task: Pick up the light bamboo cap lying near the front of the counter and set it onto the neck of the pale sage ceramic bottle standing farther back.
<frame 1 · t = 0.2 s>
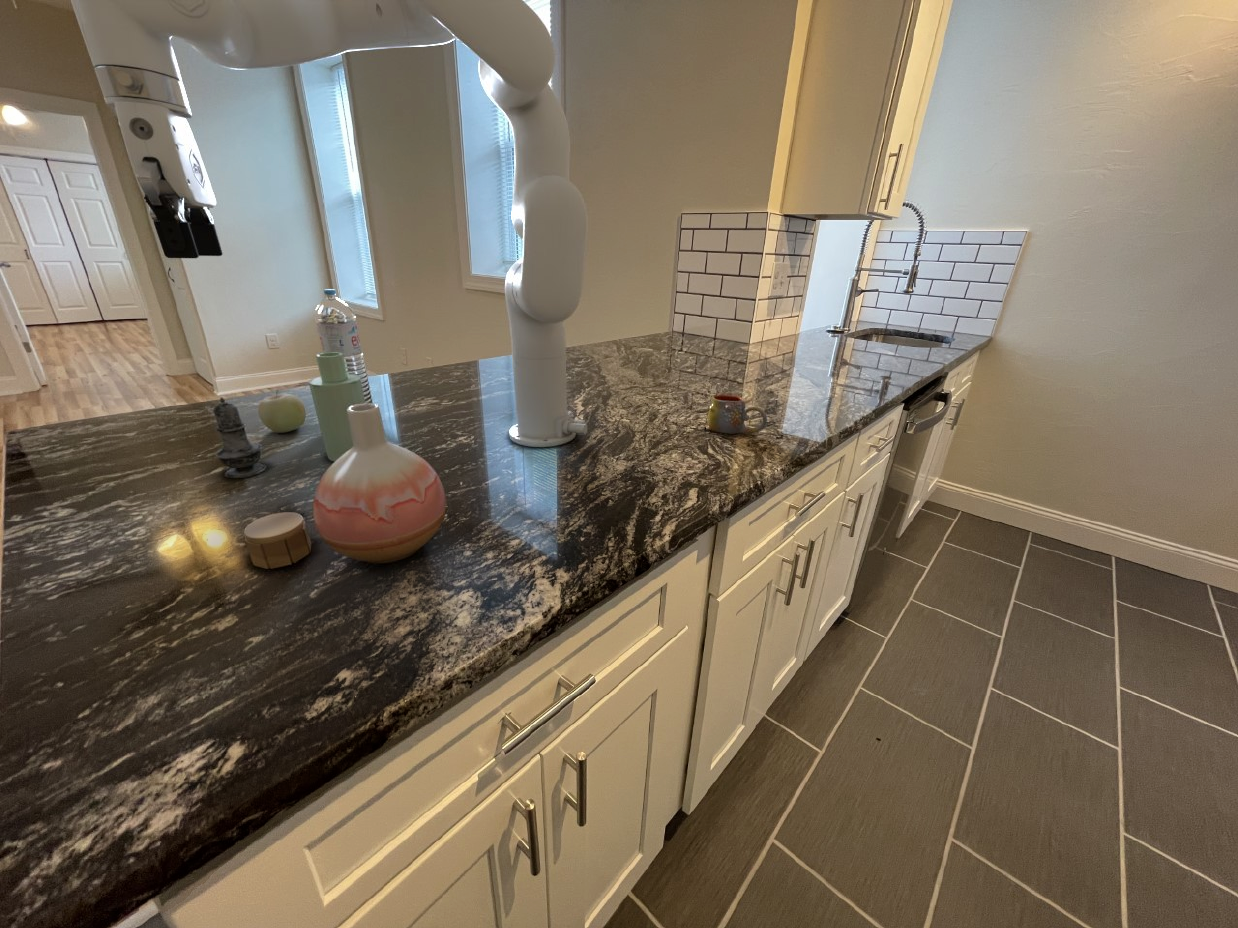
hand: (196, 256, 63), 31 cm above the counter, tool pointing down, fingers open, 9 cm apart
ceramic bottle: (351, 453, 83), on the counter
cap: (283, 553, 56), on the counter
water bottle: (357, 419, 99), on the counter
vase: (392, 549, 58), on the counter
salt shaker: (246, 472, 76), on the counter
fruit: (287, 430, 92), on the counter
mug: (734, 432, 97), on the counter
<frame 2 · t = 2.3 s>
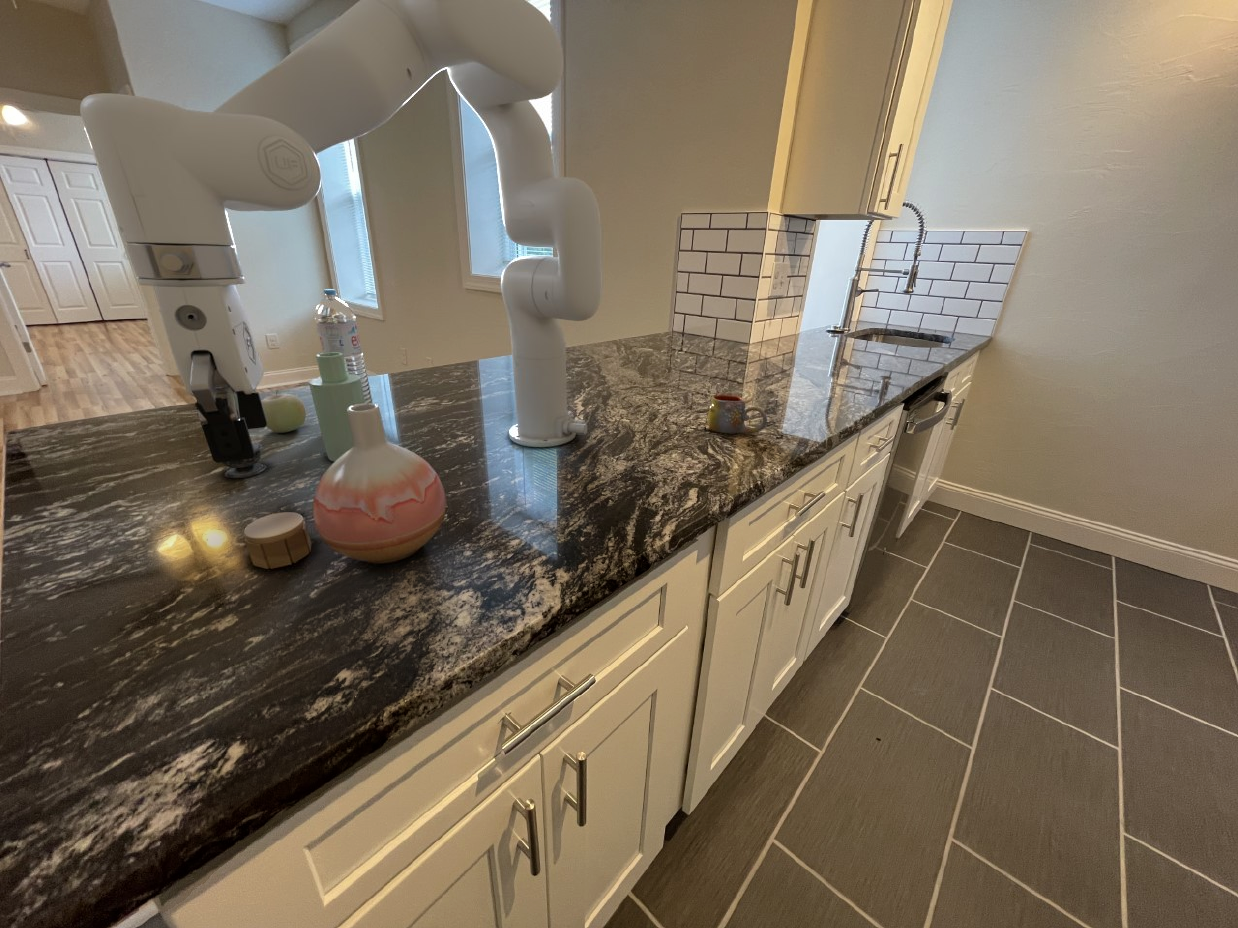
hand: (243, 442, 51), 14 cm above the counter, tool pointing down, fingers open, 9 cm apart
nothing on the counter moved.
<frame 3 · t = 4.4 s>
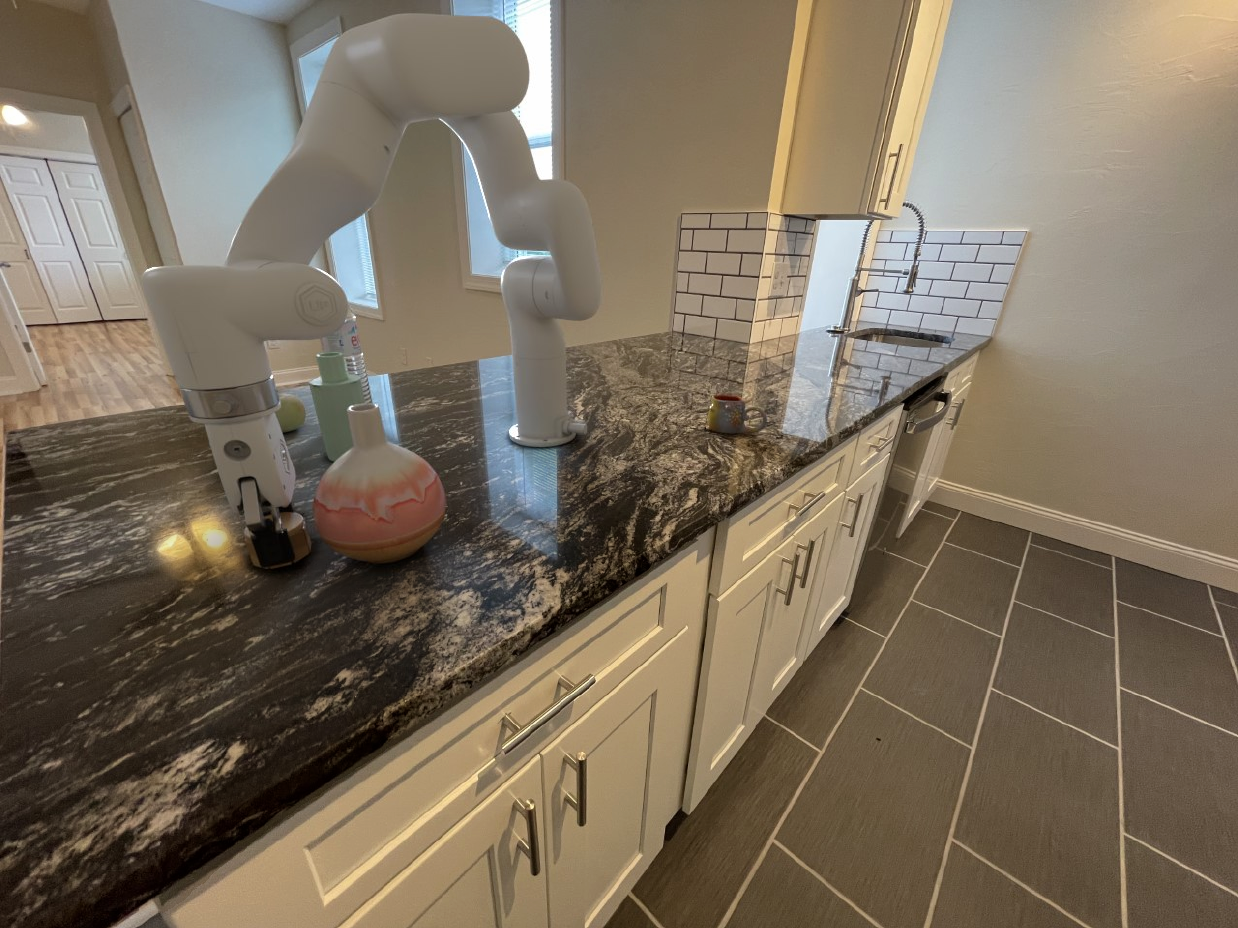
hand: (281, 547, 56), 1 cm above the counter, tool pointing down, fingers closed on cap, 5 cm apart
cap: (283, 553, 56), on the counter, touching gripper
everything else where it was.
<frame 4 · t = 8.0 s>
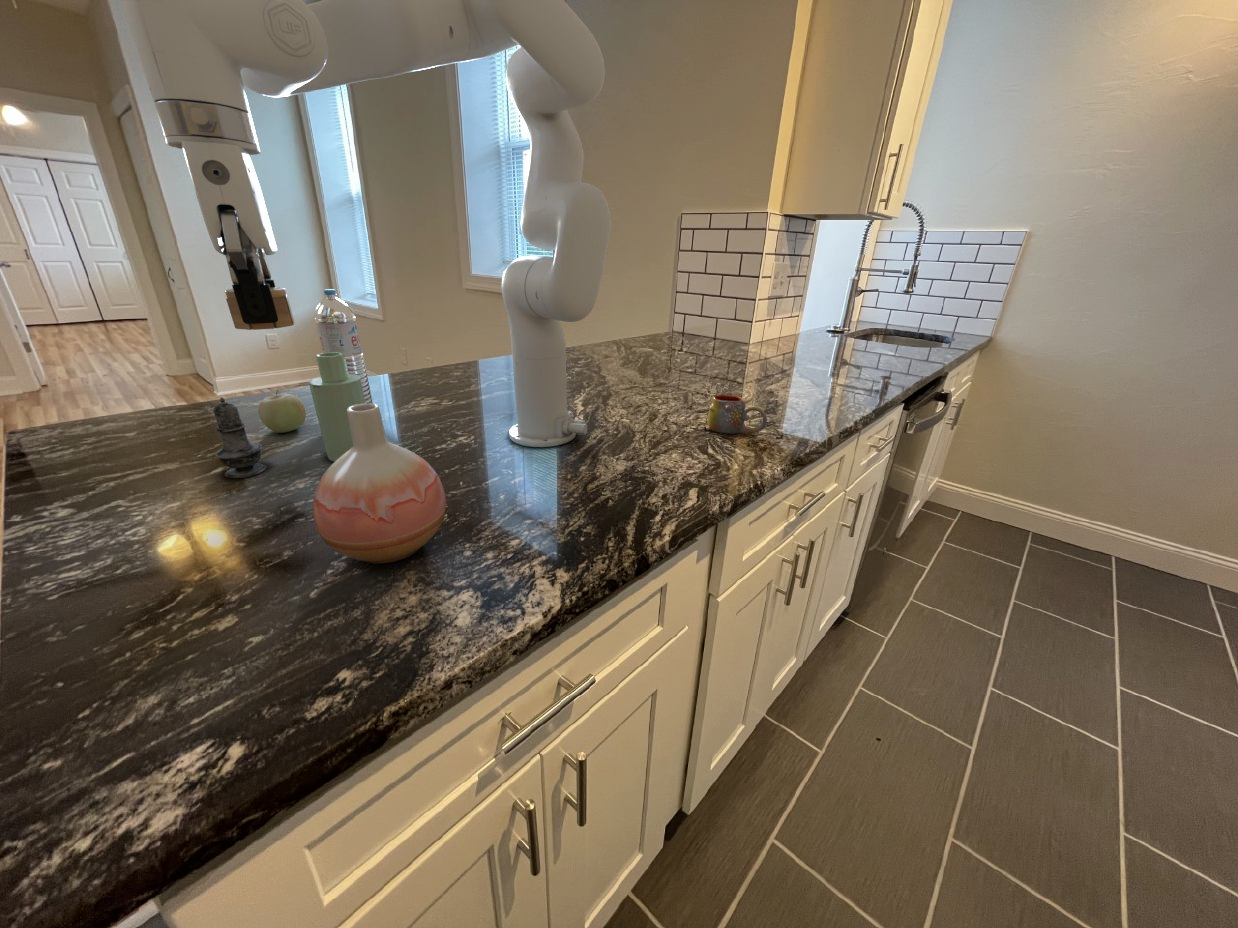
hand: (264, 317, 56), 25 cm above the counter, tool pointing down, fingers closed on cap, 5 cm apart
cap: (266, 325, 56), point 24 cm above the counter, touching gripper
everything else where it was.
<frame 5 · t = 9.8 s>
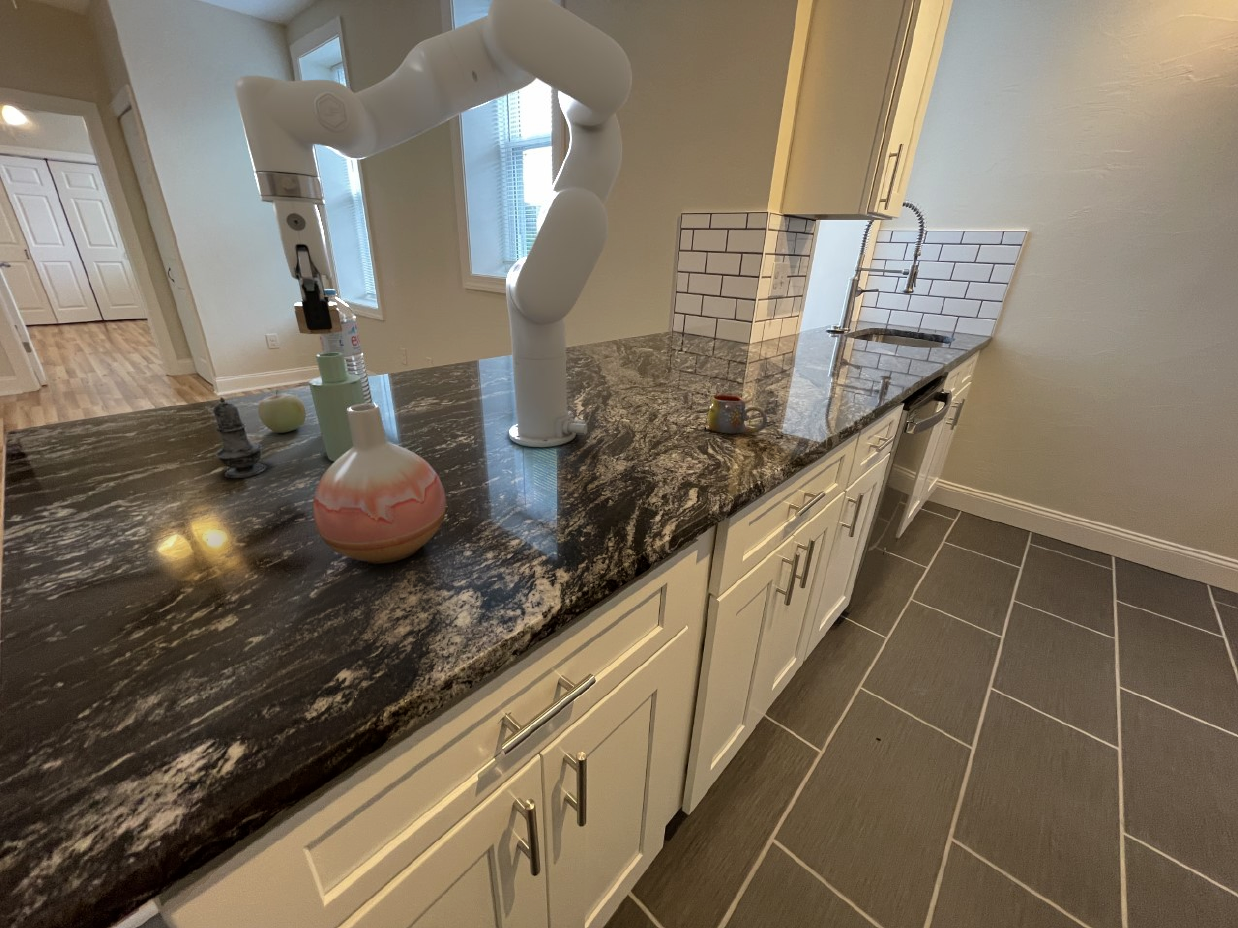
hand: (320, 325, 74), 22 cm above the counter, tool pointing down, fingers closed on cap, 5 cm apart
cap: (321, 331, 74), point 21 cm above the counter, touching gripper
everything else where it was.
when the fingers open (15 cm above the counter, at t = 11.7 s): cap stays where it is, resting on ceramic bottle.
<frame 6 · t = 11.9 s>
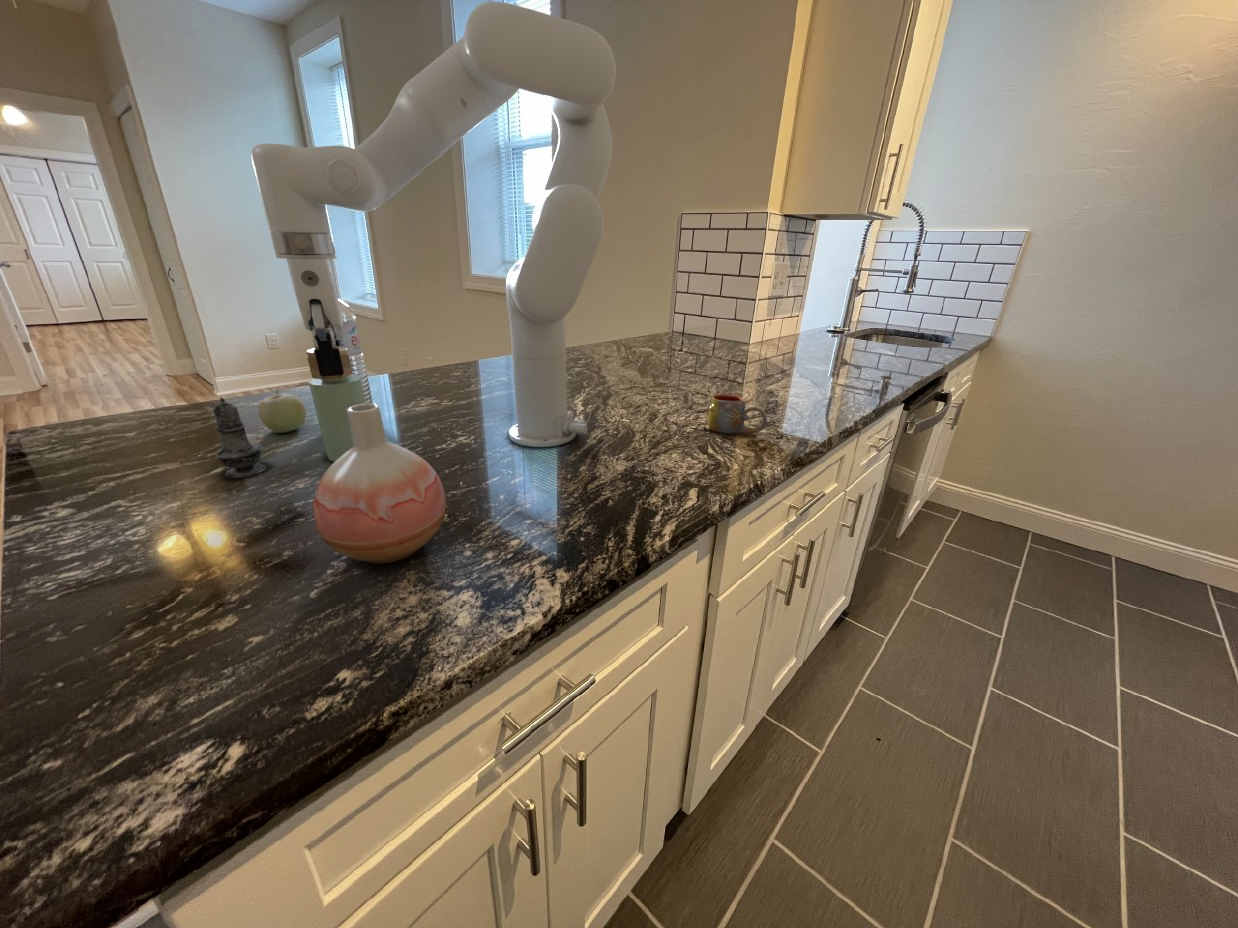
hand: (332, 369, 77), 15 cm above the counter, tool pointing down, fingers open, 6 cm apart
ceramic bottle: (351, 453, 83), on the counter, touching cap
cap: (332, 374, 77), point 14 cm above the counter, touching ceramic bottle
everything else where it was.
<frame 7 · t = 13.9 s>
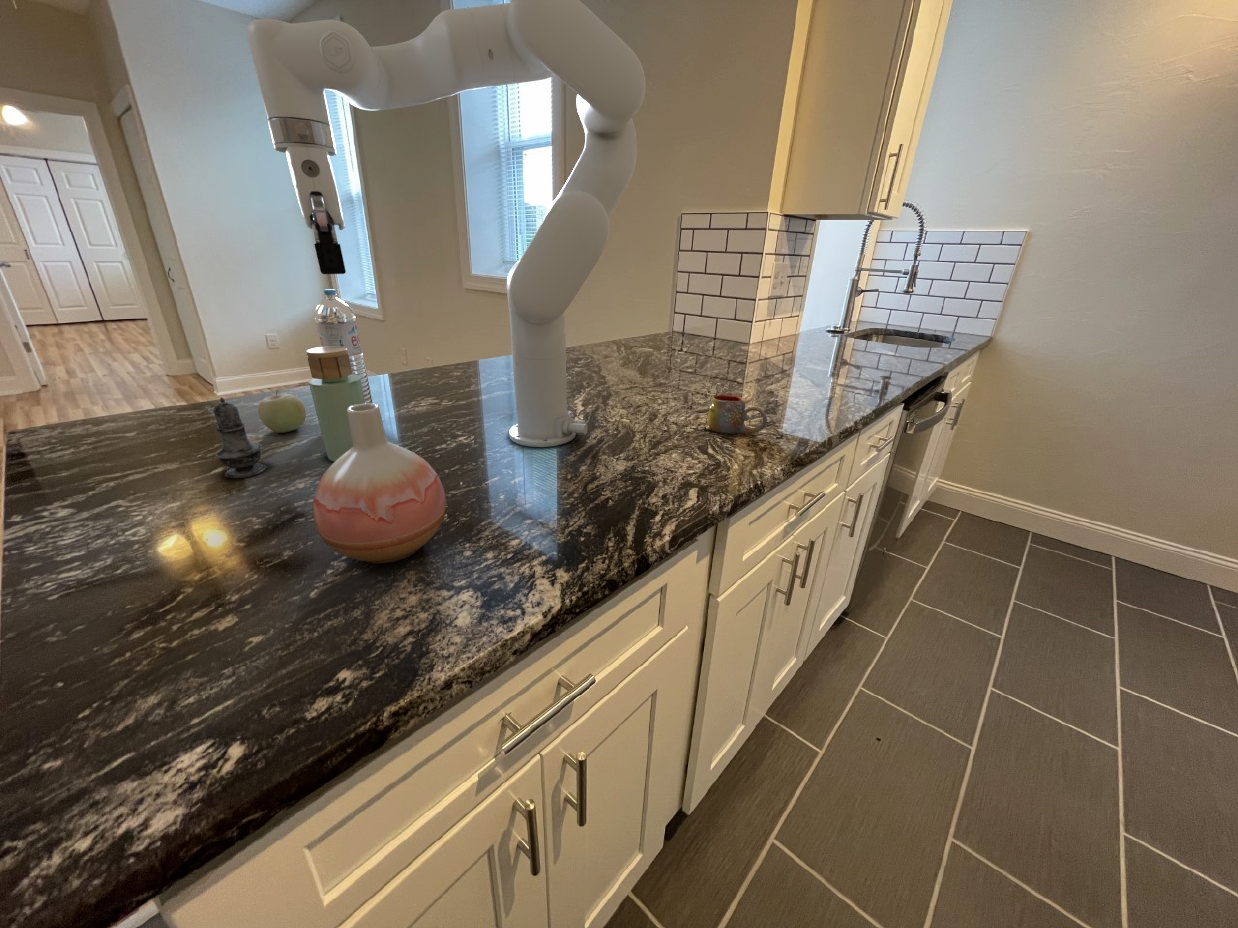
hand: (333, 272, 74), 29 cm above the counter, tool pointing down, fingers open, 9 cm apart
nothing on the counter moved.
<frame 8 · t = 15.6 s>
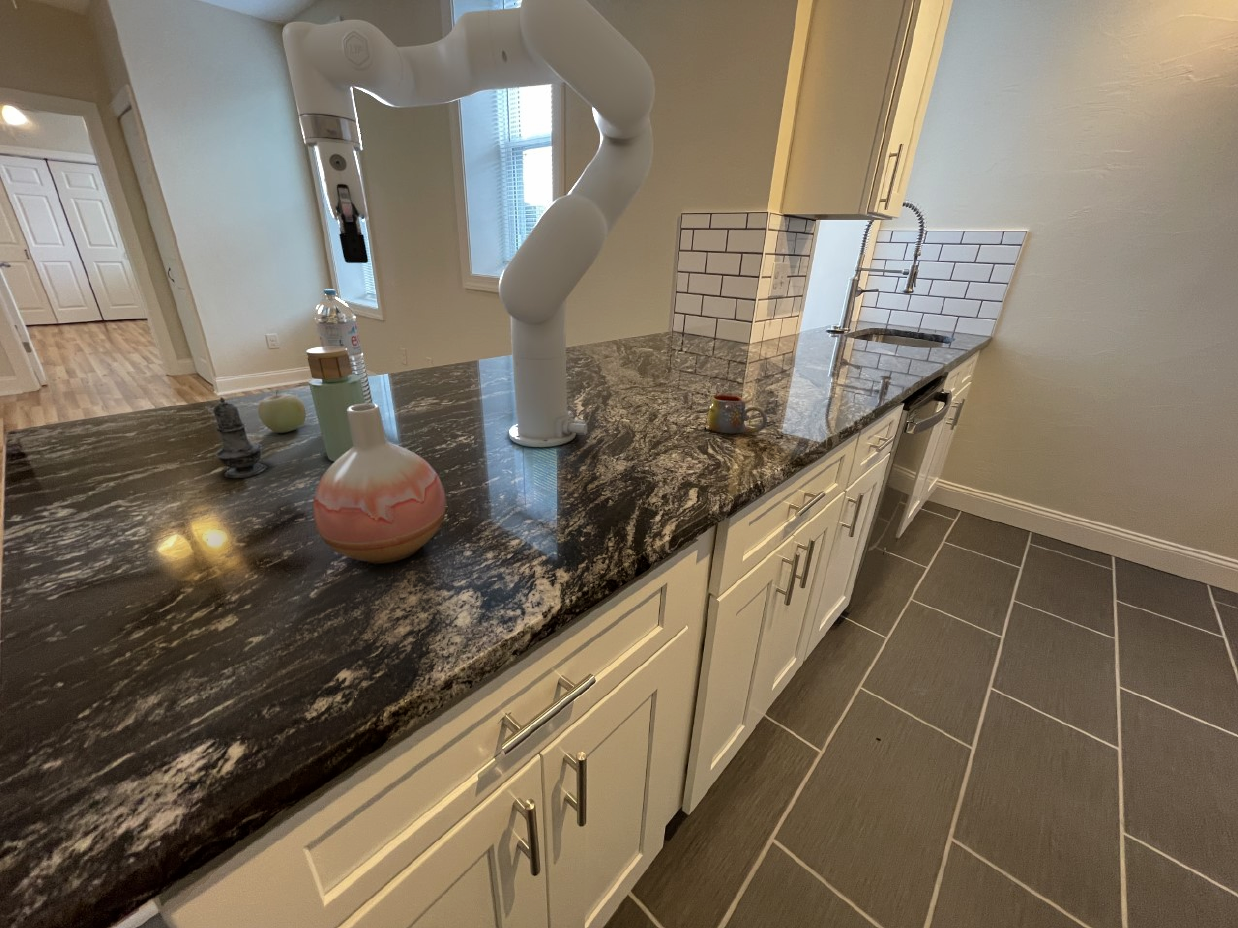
hand: (355, 261, 78), 30 cm above the counter, tool pointing down, fingers open, 9 cm apart
nothing on the counter moved.
at the end: cap 0.1 cm off-centre in the ceramic bottle, point 13.8 cm above the ceramic bottle's base; cap tilted 0°; ceramic bottle tilted 0° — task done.
